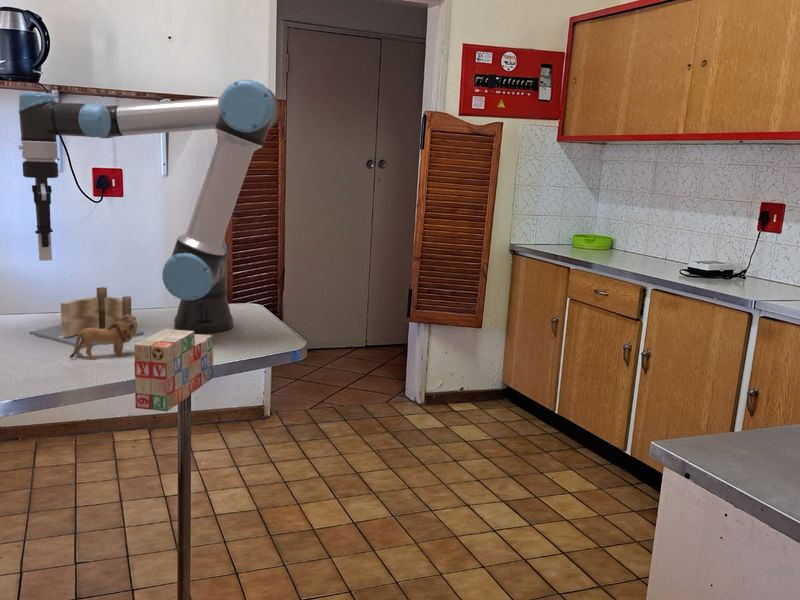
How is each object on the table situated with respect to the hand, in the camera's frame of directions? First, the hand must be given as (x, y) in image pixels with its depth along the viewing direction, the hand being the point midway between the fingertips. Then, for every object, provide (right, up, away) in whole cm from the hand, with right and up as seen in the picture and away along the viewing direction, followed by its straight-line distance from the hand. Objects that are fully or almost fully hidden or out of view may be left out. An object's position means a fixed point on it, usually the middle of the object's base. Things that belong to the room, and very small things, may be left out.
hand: (45, 259), depth 178 cm
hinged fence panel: (+7, -18, +2) cm, 19 cm away
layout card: (+8, -18, +5) cm, 20 cm away
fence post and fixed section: (+14, -18, +7) cm, 24 cm away
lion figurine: (+20, -22, -12) cm, 32 cm away
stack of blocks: (+42, -28, -34) cm, 61 cm away
